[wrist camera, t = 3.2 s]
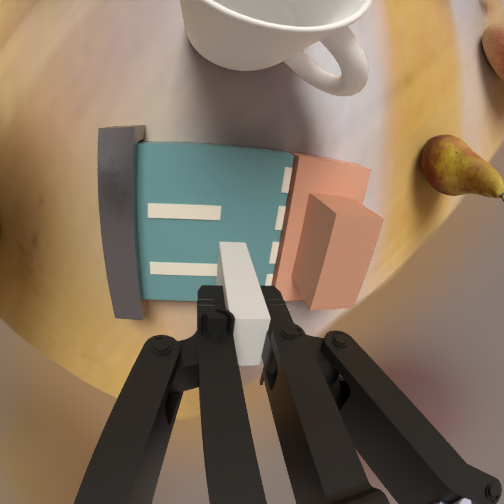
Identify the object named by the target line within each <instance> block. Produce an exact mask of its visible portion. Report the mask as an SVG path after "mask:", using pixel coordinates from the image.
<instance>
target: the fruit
mask: <svg viewBox="0 0 504 504" xmlns="http://www.w3.org/2000/svg"><path fill="white" fill-rule="evenodd" d="M421 168H422V171H423V174H424V176H425V178H426V179H427V181H428V182H429V183H430V185H431V186H432V187H434V188H435V189H436V190H437V191H439V192H441V193H443V194H446V195H450V196H457V195H462V194H470V193H472V194H479V195H482V196H486V197H494V198H500V197H501V198H502V199H503V201H504V183H503V180H502V178H501V177H500V176H499V174H498V173H497V172H496V170H495V169H494V168H493V167H492V166H490V165H489V164H488V163H487V162H486V161H485V160H484V159H483V158H481V157H480V156H479V155H477V154H476V153H475V152H473V151H472V149H471V148H470V147H469V146H468V145H467V144H466V143H465V142H464V141H462V140H461V139H459V138H457V137H455V136H452V135H440V136H436V137H433V138H431V139H429V140H428V141H427V142H426V144H425V145H424V147H423V150H422V157H421Z"/></svg>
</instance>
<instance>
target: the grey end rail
mask: <svg viewBox="0 0 504 504" xmlns="http://www.w3.org/2000/svg"><path fill="white" fill-rule="evenodd" d="M144 136H145V125H137V126H113V127H106V128H99V129H98V196H99V212H100V224H101V234H102V243H103V251H104V259H105V266H106V272H107V278H108V284H109V290H110V295H111V300H112V305H113V310H114V315H115V318H120V319H135V320H143V317H144V313H145V308H146V303H147V299H143V291H142V281H141V271H140V259H139V244H138V225H137V154H138V141H140V140H143V139H144Z"/></svg>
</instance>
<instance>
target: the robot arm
mask: <svg viewBox="0 0 504 504" xmlns="http://www.w3.org/2000/svg"><path fill="white" fill-rule="evenodd" d="M216 284H217V285H202V286H201V287H200V288H199V290H198V293H197V331H196V333H195V334H194V335H193V336H192V337H190V338H188V339H185V340H182V341H176V340H175V339H174V338H173V337H170V336H167V335H157V336H153V337H151V338H150V339H148V340H147V341H146V342H145V344H144V346H143V348H142V350H141V352H140V354H139V356H138V358H137V359H136V361H135V363H134V365H133V368H132V370H131V372H130V374H129V376H128V378H127V380H126V382H125V384H124V386H123V388H122V390H121V392H120V394H119V396H118V399H117V401H116V403H115V405H114V407H113V409H112V412H111V414H110V416H109V418H108V420H107V423H106V425H105V427H104V429H103V432H102V434H101V436H100V439H99V441H98V443H97V446H96V448H95V450H94V453H93V455H92V458H91V460H90V463H89V465H88V468H87V470H86V473H85V475H84V478H83V480H82V483H81V486H80V488H79V491H78V494H77V496H76V499H75V502H74V504H152V500H153V496H154V493H155V489H156V485H157V481H158V478H159V474H160V471H161V467H162V463H163V460H164V456H165V453H166V449H167V446H168V442H169V439H170V435H171V432H172V428H173V425H174V422H175V418H176V415H177V412H178V408H179V405H180V402H181V398H182V395H183V391H186V390H190V389H193V388H197V387H199V396H200V412H201V426H202V438H203V450H204V458H205V459H204V460H205V469H206V478H207V487H208V494H209V501H210V504H267V502H266V498H265V494H264V489H263V485H262V481H261V477H260V472H259V467H258V462H257V458H256V453H255V449H254V444H253V439H252V434H251V429H250V424H249V420H248V414H247V409H246V404H245V398H244V393H243V387H242V382H241V376H240V371H239V366H249V365H260V364H261V359H263V363H264V367H263V371H262V375H261V379H260V385H262V384H263V381H264V382H265V386H266V390H267V394H268V398H269V402H270V406H271V410H272V414H273V418H274V422H275V426H276V429H277V433H278V437H279V441H280V445H281V449H282V452H283V456H284V460H285V464H286V467H287V471H288V475H289V479H290V482H291V486H292V489H293V493H294V497H295V500H296V504H390V503H389V501H388V499H387V497H386V495H385V494H384V493H383V492H382V491H381V490H379V489H376V488H373V487H372V486H371V485H370V483H369V482H368V479H367V477H366V474H365V472H364V469H363V467H362V465H361V462H360V460H359V457H358V455H357V453H356V450H357V451H358V452H359V454H360V455H361V456H362V458H363V459H364V460H365V461H366V463H367V464H368V466H369V467H370V468H371V470H372V471H373V472H374V473H375V475H376V476H377V477H378V479H379V480H380V481H381V482H382V484H383V485H384V486H385V488H386V489H387V490H388V491H389V492H390V494H391V495H392V496H393V498H394V499H395V500H396V501H397V502H398V503H399V504H496V503H497V502H498V501H499V499H500V496H501V492H502V488H501V483H500V482H499V480H498V479H497V478H495V477H493V476H491V475H488V474H487V473H484V472H482V471H480V470H478V469H476V468H474V467H472V466H470V465H468V464H467V463H466V462H465V461H464V460H463V459H462V458H461V457H460V455H459V454H458V453H457V452H456V451H455V450H454V449H453V448H452V447H451V445H450V444H449V443H448V442H447V441H446V440H445V439H444V437H443V436H442V435H441V434H440V433H439V432H438V431H437V430H436V429H435V427H434V426H433V425H432V424H431V423H430V422H429V421H428V420H427V419H426V418H425V417H424V415H423V414H422V413H421V412H420V411H419V410H418V409H417V408H416V407H415V405H414V404H413V403H412V402H411V401H410V400H409V399H408V398H407V397H406V395H405V394H403V392H402V391H401V390H400V389H399V388H398V387H397V386H396V385H395V384H394V382H393V381H392V380H391V379H390V378H389V377H388V376H387V375H386V374H385V373H384V372H383V371H382V369H381V368H380V367H379V366H378V365H377V364H376V363H375V362H374V361H373V360H372V359H371V358H370V357H369V356H368V354H367V353H366V352H365V351H364V350H363V349H362V348H361V347H360V346H359V345H358V344H357V343H356V342H355V341H354V339H353V338H352V337H351V336H349V335H348V334H346V333H344V332H342V331H330V332H328V333H327V334H326V335H325V337H324V338H319V337H313V336H309V335H306V334H305V332H304V331H303V329H302V328H301V327H299V326H298V325H296V324H294V323H293V320H292V318H291V316H290V313H289V311H288V308H287V306H286V305H285V301H284V300H283V297H282V294H281V292H280V291H279V290H278V289H277V288H276V287H275V286H261V285H259V282H258V279H257V276H256V273H255V270H254V267H253V264H252V261H251V258H250V255H249V252H248V249H247V246H246V243H243V242H220V241H219V252H218V265H217V279H216ZM340 375H341V376H342V377H341V376H340ZM354 447H355V448H356V450H355V448H354Z"/></svg>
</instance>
